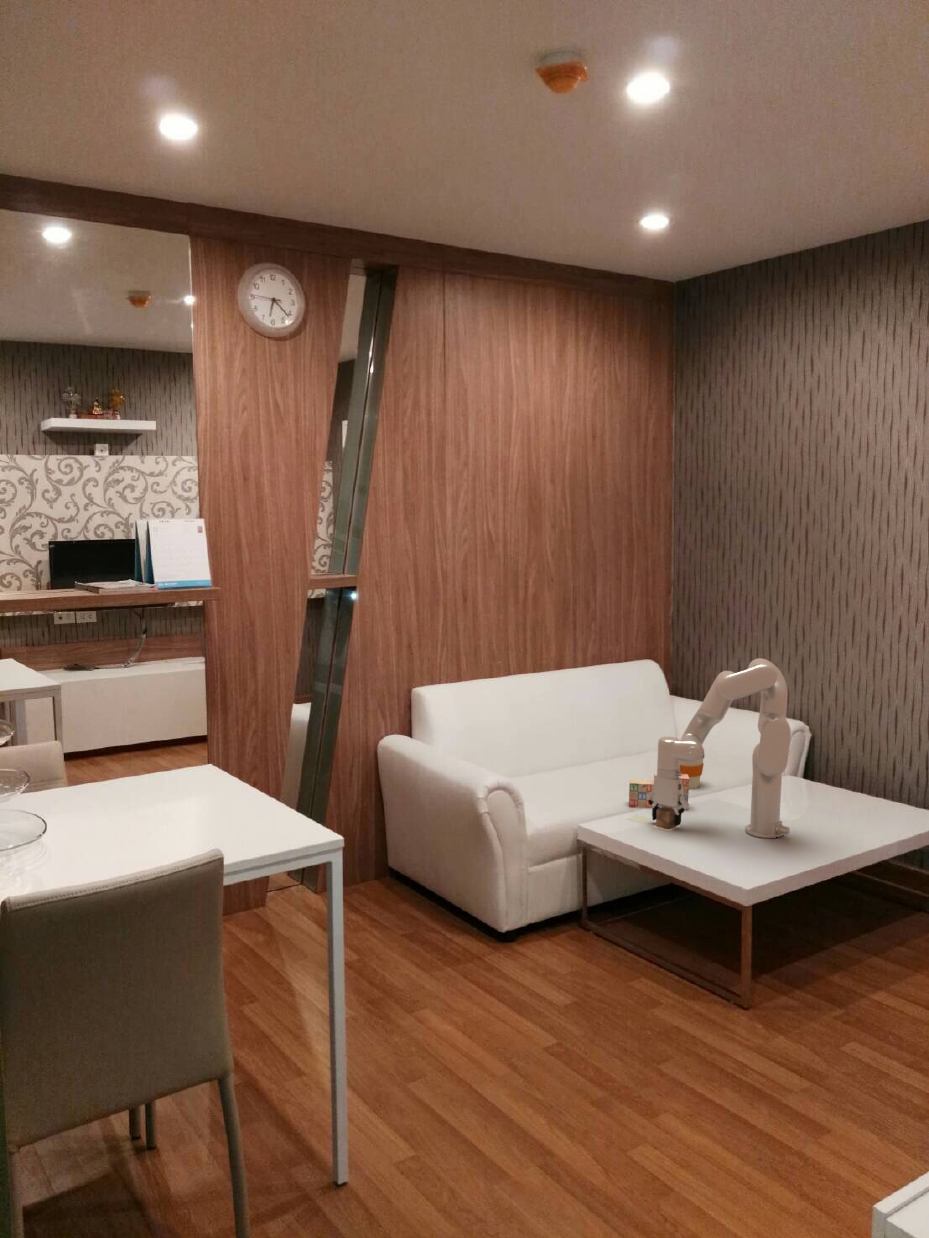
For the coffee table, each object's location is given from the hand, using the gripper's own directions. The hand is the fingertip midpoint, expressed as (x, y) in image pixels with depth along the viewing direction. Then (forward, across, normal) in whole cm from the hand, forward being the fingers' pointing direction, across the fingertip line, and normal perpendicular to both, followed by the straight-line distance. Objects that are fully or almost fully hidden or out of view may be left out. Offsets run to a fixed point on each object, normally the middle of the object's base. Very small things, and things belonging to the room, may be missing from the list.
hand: (666, 821), depth 350 cm
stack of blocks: (+2, +15, -18) cm, 24 cm away
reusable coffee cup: (+2, +22, -50) cm, 55 cm away
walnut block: (+1, 0, 0) cm, 1 cm away
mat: (+2, +6, 0) cm, 6 cm away
